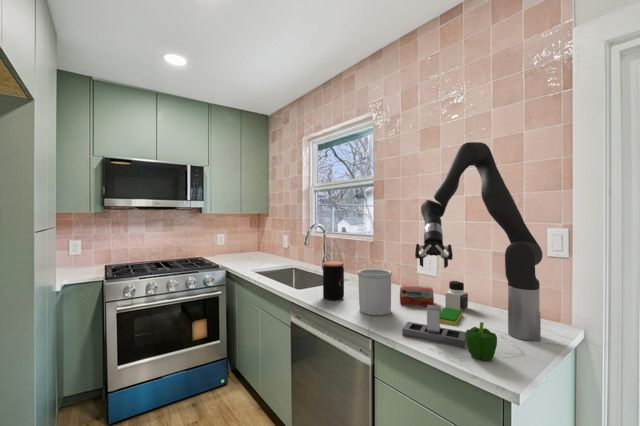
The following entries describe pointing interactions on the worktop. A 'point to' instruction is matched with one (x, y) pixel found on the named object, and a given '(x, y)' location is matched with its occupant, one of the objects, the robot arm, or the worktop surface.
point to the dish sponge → (450, 316)
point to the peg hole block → (445, 335)
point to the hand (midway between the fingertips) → (433, 266)
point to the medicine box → (416, 295)
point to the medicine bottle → (456, 296)
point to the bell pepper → (481, 343)
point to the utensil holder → (375, 291)
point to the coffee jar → (333, 280)
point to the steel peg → (433, 319)
